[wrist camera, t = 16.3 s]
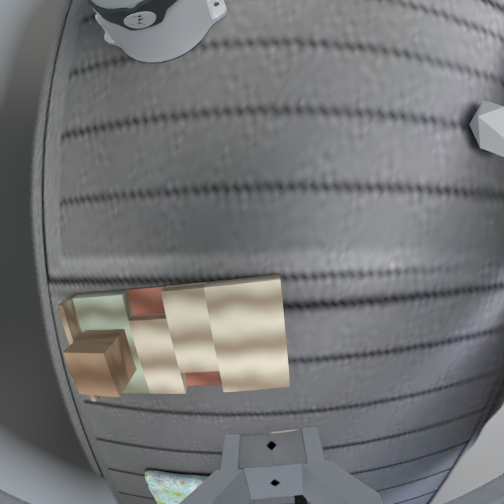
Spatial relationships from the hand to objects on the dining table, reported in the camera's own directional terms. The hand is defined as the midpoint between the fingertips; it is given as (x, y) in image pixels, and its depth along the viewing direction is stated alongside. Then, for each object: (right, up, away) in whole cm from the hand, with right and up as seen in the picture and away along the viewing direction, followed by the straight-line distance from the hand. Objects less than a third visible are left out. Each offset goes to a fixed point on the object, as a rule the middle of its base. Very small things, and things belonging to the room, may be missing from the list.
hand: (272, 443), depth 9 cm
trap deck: (-12, -7, +36) cm, 39 cm away
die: (+36, +26, +29) cm, 53 cm away
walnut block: (-22, -9, +34) cm, 42 cm away
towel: (-13, -49, +46) cm, 68 cm away
